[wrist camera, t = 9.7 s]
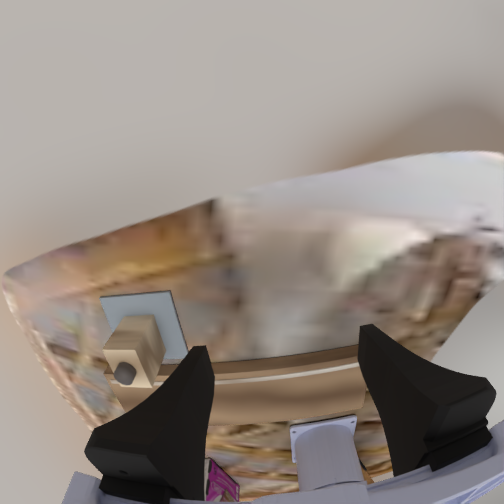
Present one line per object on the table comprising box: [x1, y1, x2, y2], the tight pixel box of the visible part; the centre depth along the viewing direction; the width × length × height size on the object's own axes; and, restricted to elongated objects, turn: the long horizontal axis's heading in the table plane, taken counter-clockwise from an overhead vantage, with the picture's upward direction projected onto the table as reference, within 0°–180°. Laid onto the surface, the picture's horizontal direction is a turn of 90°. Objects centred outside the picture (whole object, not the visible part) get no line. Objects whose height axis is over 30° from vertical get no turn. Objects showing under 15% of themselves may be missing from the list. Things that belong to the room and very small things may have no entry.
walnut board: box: [104, 345, 367, 426], centre depth 26 cm, size 8×26×2 cm, turn 98°
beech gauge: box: [102, 315, 166, 388], centre depth 22 cm, size 4×3×6 cm
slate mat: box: [99, 291, 189, 359], centre depth 25 cm, size 7×7×1 cm
